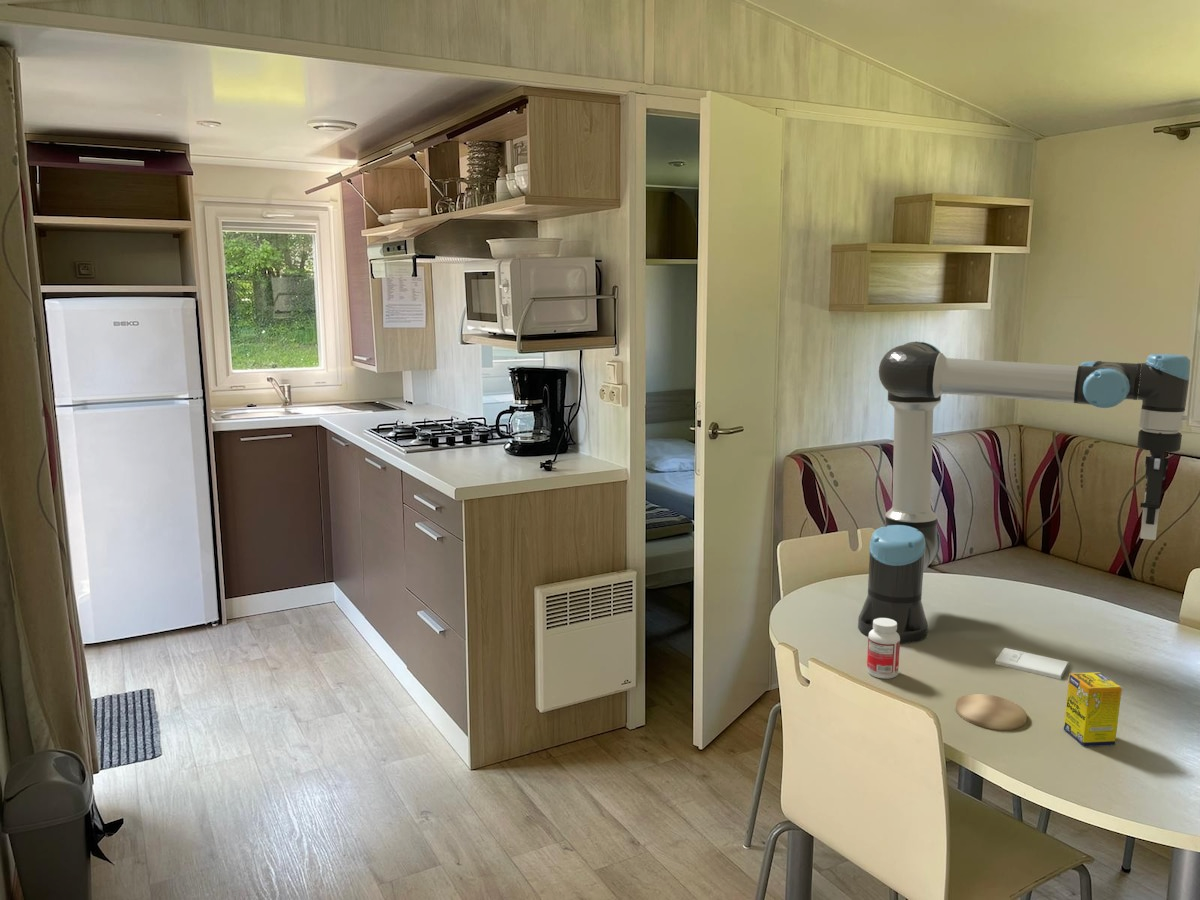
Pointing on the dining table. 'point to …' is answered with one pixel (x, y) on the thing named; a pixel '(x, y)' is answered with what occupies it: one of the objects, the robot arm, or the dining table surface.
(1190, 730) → the dining table surface
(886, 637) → the pill bottle
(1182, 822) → the dining table surface
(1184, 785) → the dining table surface
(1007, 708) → the disc
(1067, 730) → the supplement box
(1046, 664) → the external hard drive
